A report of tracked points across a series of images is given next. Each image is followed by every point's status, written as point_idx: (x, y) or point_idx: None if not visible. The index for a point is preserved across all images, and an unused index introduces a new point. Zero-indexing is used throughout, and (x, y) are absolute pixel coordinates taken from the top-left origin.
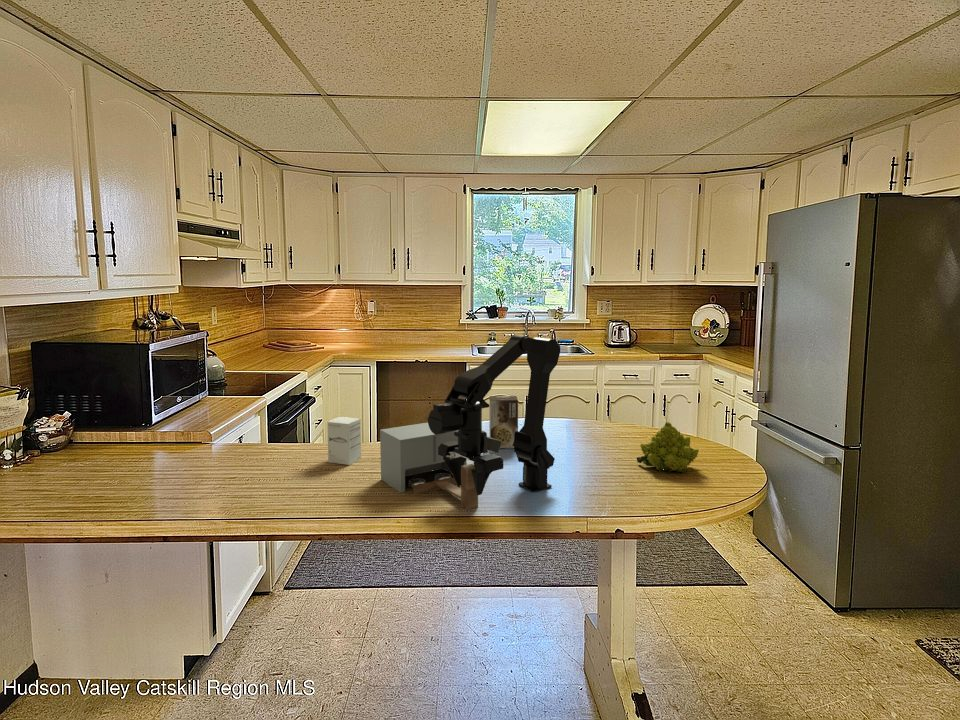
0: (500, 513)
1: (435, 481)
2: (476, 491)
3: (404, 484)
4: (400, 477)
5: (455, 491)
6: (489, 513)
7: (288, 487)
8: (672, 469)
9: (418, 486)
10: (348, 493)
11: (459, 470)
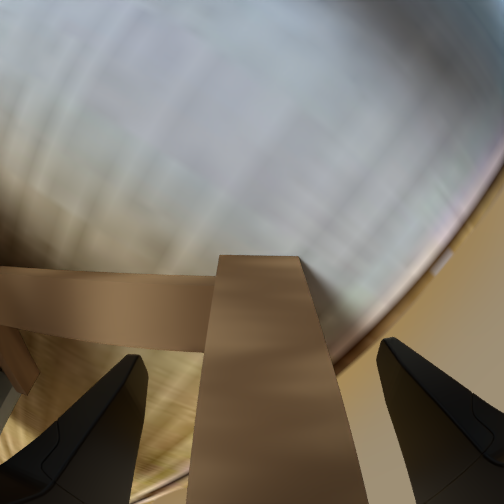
0: (441, 210)
1: None
2: (385, 388)
3: (7, 397)
4: (3, 426)
5: (116, 330)
6: (405, 256)
7: (6, 451)
8: None
9: (21, 383)
10: (27, 438)
11: (104, 471)
